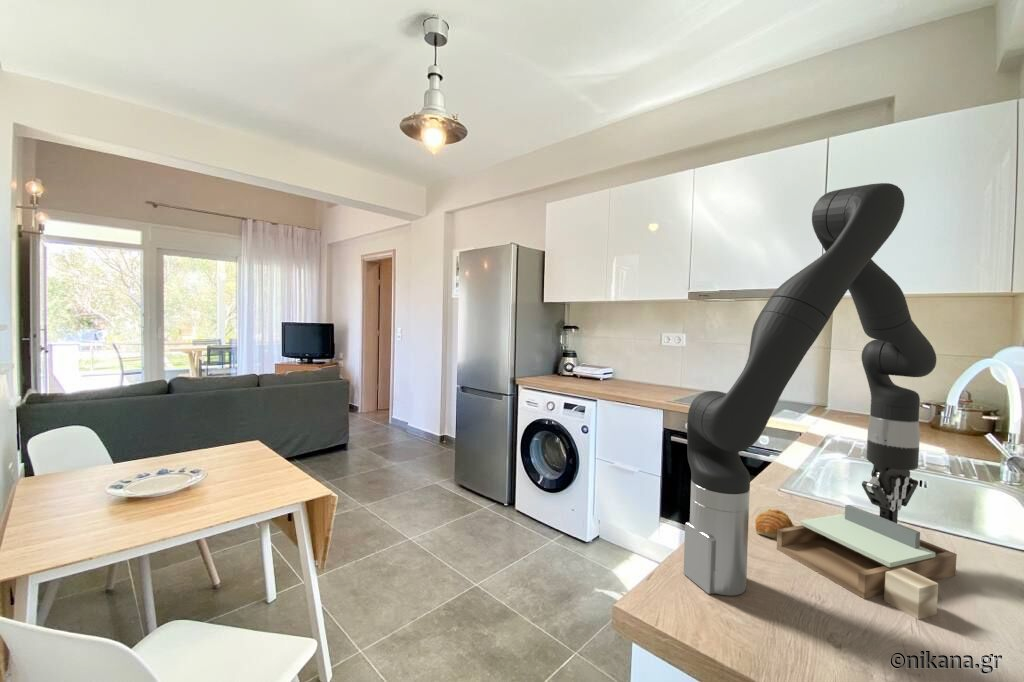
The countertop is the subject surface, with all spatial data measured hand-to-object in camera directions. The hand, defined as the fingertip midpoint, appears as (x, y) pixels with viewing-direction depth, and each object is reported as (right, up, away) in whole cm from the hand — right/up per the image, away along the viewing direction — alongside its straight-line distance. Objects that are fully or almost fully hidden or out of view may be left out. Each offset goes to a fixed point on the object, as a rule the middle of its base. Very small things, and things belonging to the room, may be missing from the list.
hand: (888, 527), depth 82 cm
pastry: (-16, -6, +10) cm, 20 cm away
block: (-10, -6, -15) cm, 19 cm away
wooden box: (-7, -6, -2) cm, 9 cm away
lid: (-7, -1, -2) cm, 7 cm away
